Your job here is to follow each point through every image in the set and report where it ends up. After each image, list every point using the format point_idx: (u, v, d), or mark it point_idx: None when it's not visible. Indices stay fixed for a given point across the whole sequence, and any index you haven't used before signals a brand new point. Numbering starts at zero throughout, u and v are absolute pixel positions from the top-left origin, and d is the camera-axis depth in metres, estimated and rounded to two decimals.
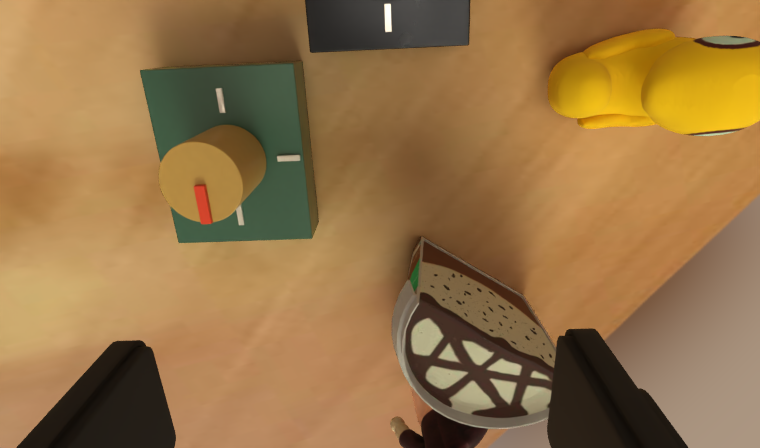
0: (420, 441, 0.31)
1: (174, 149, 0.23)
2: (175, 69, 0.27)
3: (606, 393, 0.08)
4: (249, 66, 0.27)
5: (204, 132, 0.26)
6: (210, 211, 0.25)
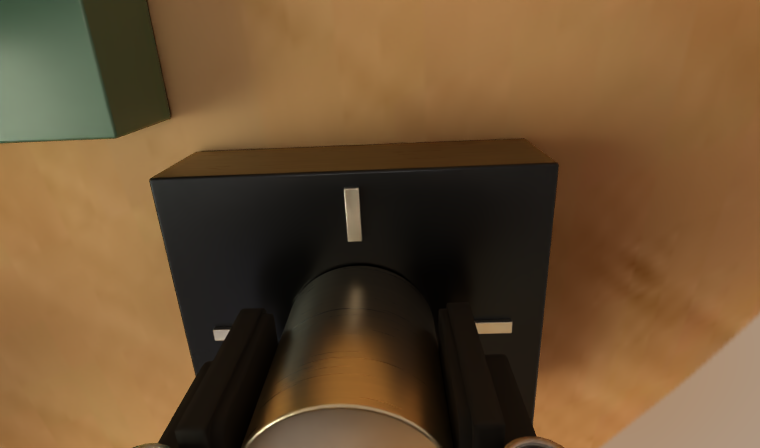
0: None
1: None
2: None
3: (455, 353, 0.09)
4: (82, 22, 0.10)
5: None
6: None
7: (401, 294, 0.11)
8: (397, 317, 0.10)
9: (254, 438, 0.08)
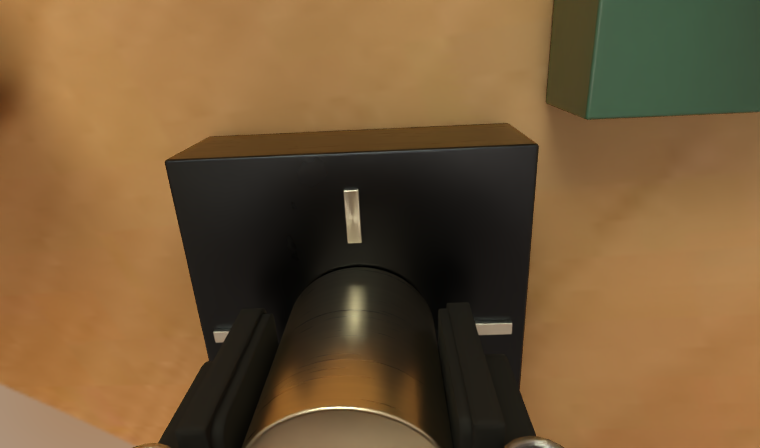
0: None
1: None
2: None
3: (455, 353, 0.09)
4: (700, 111, 0.10)
5: None
6: None
7: (401, 296, 0.11)
8: (397, 318, 0.10)
9: (254, 440, 0.08)
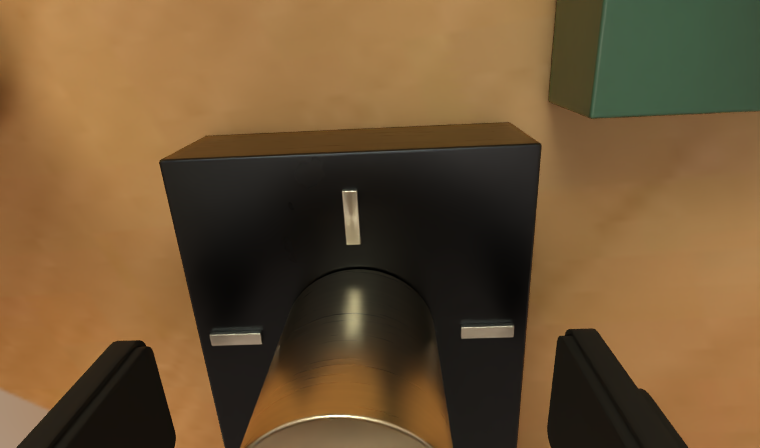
0: None
1: None
2: None
3: (606, 393, 0.08)
4: (707, 110, 0.10)
5: None
6: None
7: (400, 298, 0.11)
8: (395, 322, 0.10)
9: None
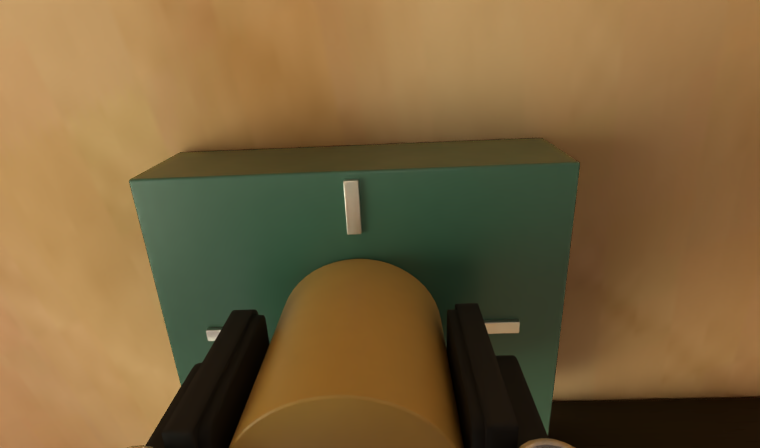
0: None
1: None
2: (569, 242, 0.12)
3: (466, 354, 0.09)
4: (552, 381, 0.13)
5: (449, 368, 0.10)
6: None
7: None
8: None
9: None
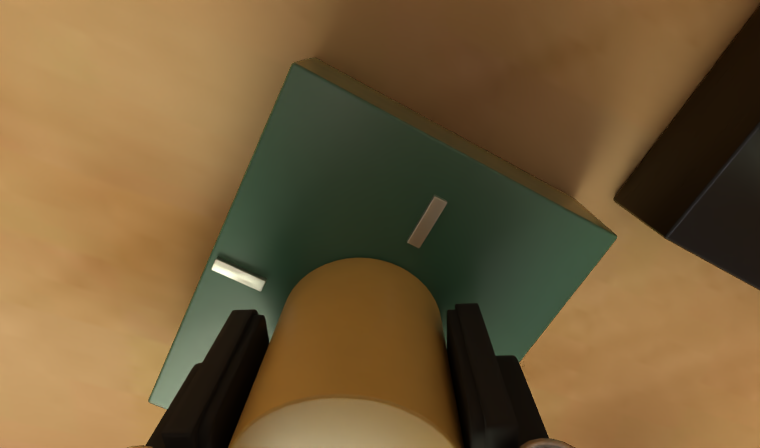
0: None
1: None
2: (375, 108, 0.11)
3: (466, 354, 0.09)
4: (533, 194, 0.11)
5: (449, 367, 0.10)
6: None
7: None
8: None
9: None
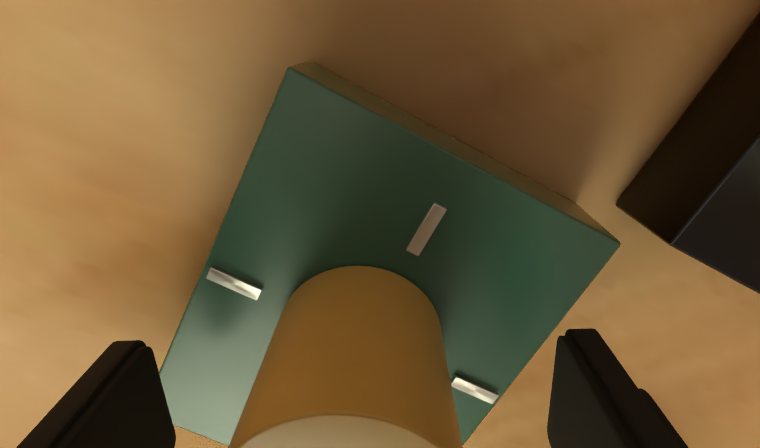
0: None
1: None
2: (373, 113, 0.10)
3: (606, 393, 0.08)
4: (534, 201, 0.11)
5: (450, 382, 0.10)
6: None
7: None
8: None
9: None
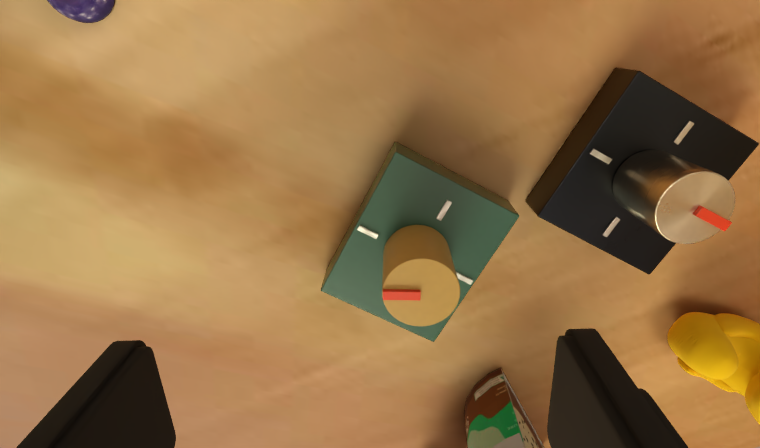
0: None
1: (454, 278, 0.26)
2: (425, 167, 0.29)
3: (606, 393, 0.08)
4: (485, 199, 0.29)
5: (453, 264, 0.28)
6: (393, 298, 0.26)
7: (621, 201, 0.28)
8: (630, 209, 0.27)
9: (699, 241, 0.25)
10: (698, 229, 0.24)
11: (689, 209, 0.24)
